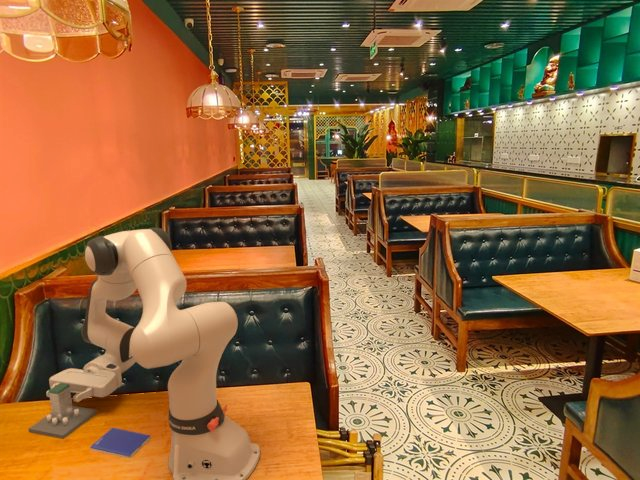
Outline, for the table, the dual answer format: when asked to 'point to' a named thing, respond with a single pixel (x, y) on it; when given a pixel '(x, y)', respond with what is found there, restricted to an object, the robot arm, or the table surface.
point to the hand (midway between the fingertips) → (61, 397)
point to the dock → (58, 430)
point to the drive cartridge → (61, 402)
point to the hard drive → (120, 442)
